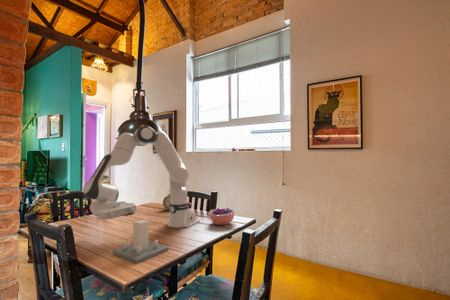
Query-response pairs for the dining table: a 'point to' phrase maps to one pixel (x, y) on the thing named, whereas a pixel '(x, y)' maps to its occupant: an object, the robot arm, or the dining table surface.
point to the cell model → (221, 216)
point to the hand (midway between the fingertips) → (126, 213)
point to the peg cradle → (139, 255)
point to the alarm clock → (166, 202)
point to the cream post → (141, 234)
